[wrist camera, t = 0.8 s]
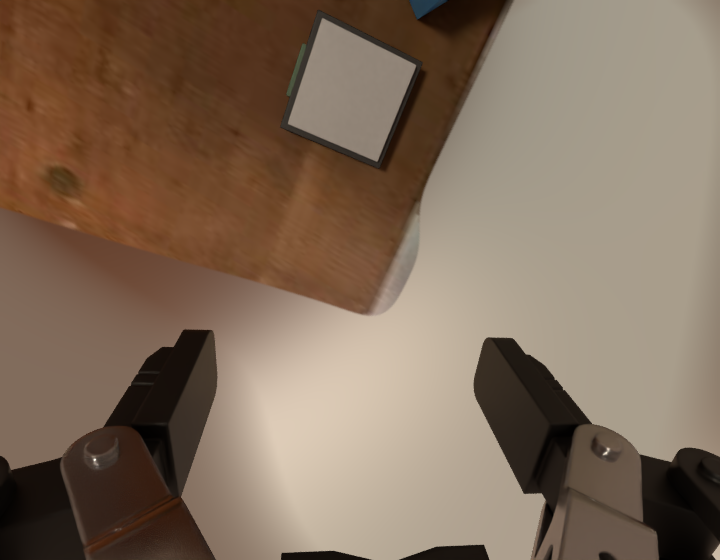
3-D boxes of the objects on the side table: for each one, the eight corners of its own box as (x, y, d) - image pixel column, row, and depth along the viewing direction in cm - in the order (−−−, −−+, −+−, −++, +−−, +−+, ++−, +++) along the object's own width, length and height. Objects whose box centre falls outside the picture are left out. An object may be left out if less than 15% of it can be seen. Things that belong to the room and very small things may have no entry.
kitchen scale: (313, 13, 32) (313, 5, 30) (416, 65, 35) (425, 61, 32) (277, 125, 35) (275, 125, 32) (375, 166, 37) (380, 169, 35)
